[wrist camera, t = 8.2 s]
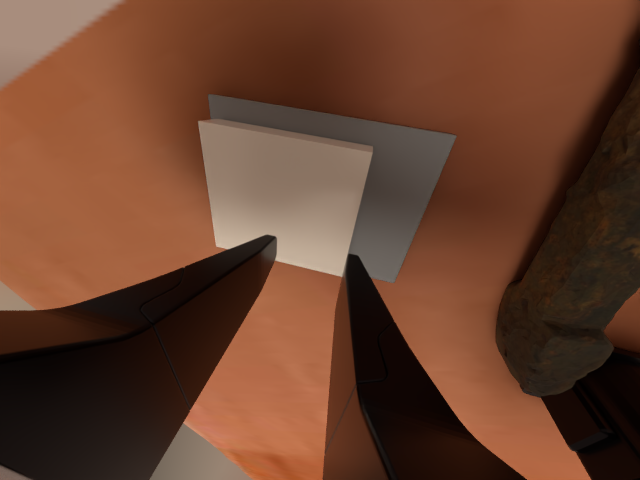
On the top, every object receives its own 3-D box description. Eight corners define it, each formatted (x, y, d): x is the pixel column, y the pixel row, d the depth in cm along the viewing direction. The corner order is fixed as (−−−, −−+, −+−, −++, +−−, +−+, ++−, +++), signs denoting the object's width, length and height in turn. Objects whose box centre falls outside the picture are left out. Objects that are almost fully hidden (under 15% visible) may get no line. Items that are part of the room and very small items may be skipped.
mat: (452, 134, 10) (456, 135, 10) (393, 277, 15) (394, 283, 15) (214, 94, 12) (207, 94, 11) (230, 238, 17) (225, 242, 16)
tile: (372, 152, 9) (197, 120, 10) (342, 277, 13) (216, 246, 14) (373, 145, 11) (220, 118, 12) (345, 259, 15) (231, 232, 16)
